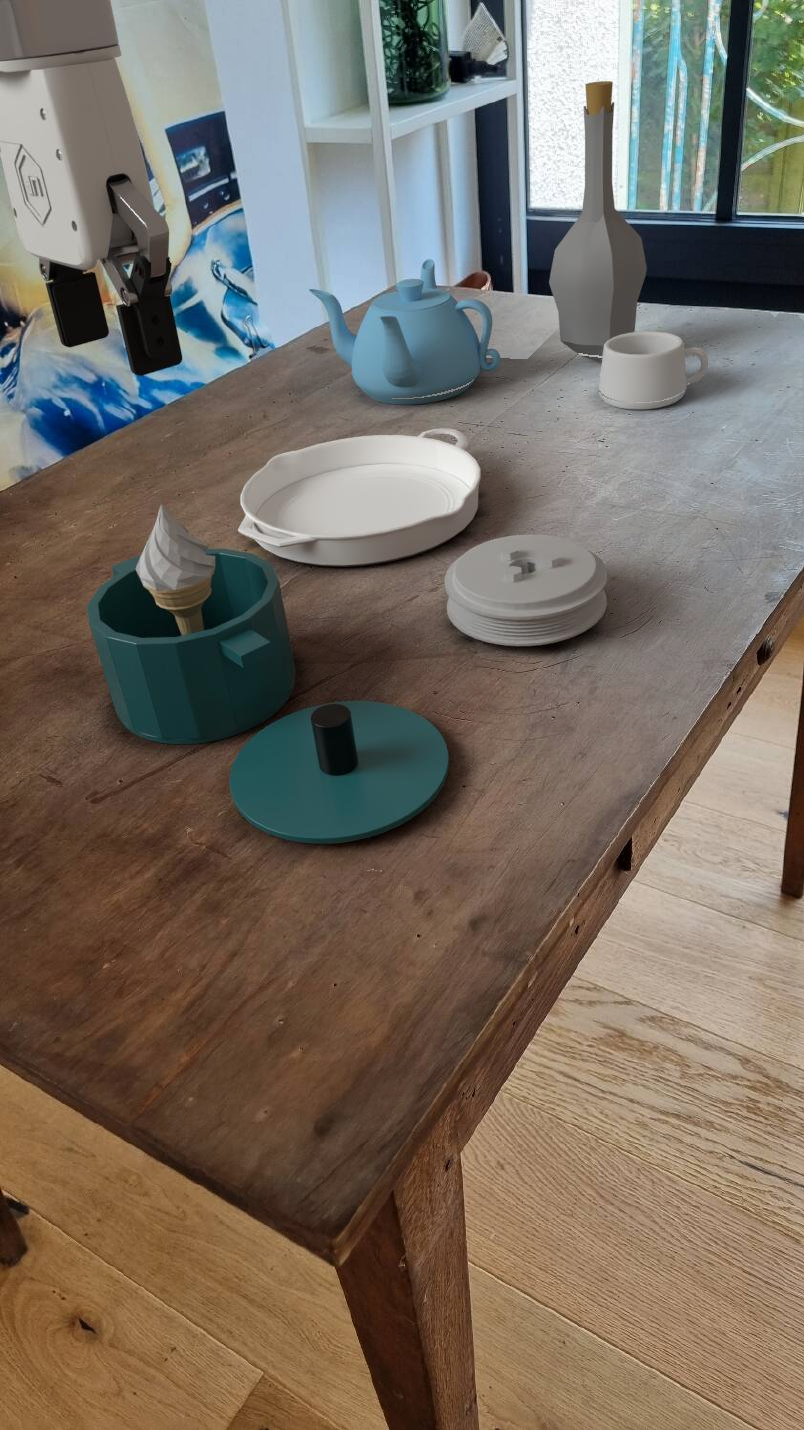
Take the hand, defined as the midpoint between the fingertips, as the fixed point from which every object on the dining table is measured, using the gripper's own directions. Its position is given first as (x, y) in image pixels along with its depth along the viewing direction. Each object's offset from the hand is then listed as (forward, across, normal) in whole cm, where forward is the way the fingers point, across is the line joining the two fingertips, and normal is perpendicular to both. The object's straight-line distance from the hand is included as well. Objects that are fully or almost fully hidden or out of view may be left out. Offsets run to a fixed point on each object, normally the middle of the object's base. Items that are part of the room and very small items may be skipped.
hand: (120, 354), depth 69 cm
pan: (+26, -16, +28) cm, 41 cm away
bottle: (+25, -28, +73) cm, 82 cm away
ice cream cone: (+26, -1, +1) cm, 26 cm away
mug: (+25, -15, +68) cm, 74 cm away
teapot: (+25, -41, +54) cm, 72 cm away
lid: (+26, +9, +25) cm, 37 cm away
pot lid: (+25, +15, +2) cm, 30 cm away
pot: (+26, -1, +1) cm, 26 cm away
